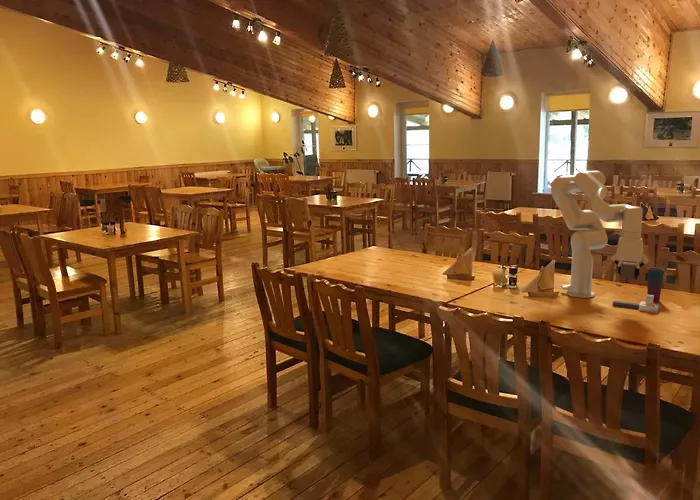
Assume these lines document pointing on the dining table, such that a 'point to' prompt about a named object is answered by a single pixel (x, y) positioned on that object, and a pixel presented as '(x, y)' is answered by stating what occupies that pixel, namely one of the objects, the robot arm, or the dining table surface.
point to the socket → (628, 270)
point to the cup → (655, 282)
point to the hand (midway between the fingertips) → (628, 275)
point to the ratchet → (640, 305)
